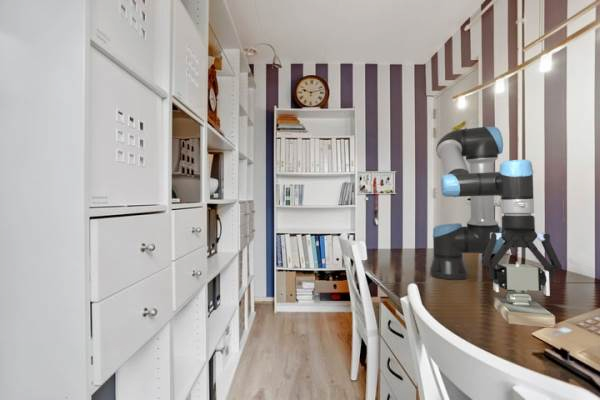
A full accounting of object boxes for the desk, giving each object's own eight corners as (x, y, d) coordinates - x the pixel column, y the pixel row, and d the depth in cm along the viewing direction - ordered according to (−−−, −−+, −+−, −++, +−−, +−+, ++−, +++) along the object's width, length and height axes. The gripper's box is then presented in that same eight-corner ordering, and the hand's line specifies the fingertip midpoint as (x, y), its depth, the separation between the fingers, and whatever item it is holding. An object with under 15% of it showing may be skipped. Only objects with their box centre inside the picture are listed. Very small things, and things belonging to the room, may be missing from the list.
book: (494, 306, 91) (493, 296, 91) (533, 310, 88) (532, 298, 88) (508, 323, 78) (508, 311, 78) (555, 328, 75) (554, 315, 75)
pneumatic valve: (547, 308, 80) (546, 263, 80) (499, 306, 82) (498, 263, 82) (536, 301, 85) (534, 260, 85) (490, 299, 87) (489, 259, 88)
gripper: (473, 215, 84) (475, 292, 84) (576, 214, 76) (580, 300, 76) (468, 214, 91) (470, 286, 91) (562, 214, 83) (565, 292, 83)
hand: (520, 292), depth 83 cm, fingers closed on pneumatic valve, 11 cm apart
